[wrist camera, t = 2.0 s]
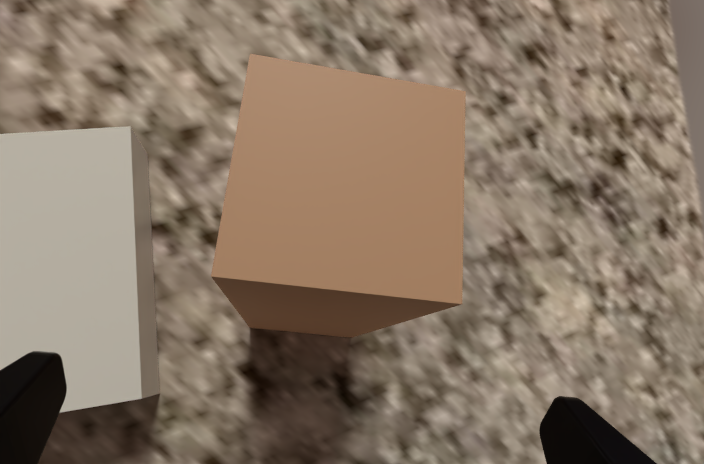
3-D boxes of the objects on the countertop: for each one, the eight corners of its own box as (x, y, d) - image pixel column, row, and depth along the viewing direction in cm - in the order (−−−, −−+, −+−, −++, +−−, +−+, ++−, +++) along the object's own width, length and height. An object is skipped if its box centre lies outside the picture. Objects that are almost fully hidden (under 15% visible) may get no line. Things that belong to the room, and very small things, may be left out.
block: (351, 337, 19) (462, 303, 8) (250, 328, 19) (210, 275, 7) (359, 242, 20) (465, 91, 9) (264, 229, 20) (250, 54, 8)
